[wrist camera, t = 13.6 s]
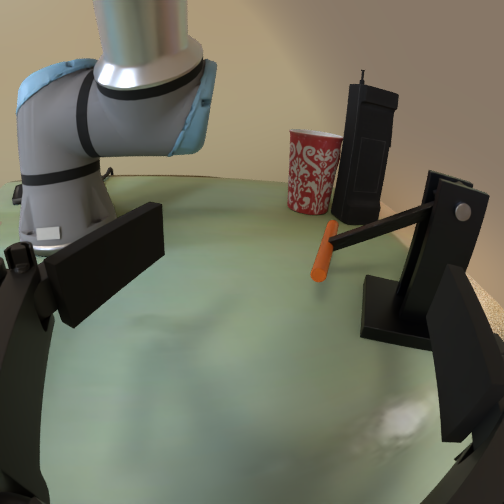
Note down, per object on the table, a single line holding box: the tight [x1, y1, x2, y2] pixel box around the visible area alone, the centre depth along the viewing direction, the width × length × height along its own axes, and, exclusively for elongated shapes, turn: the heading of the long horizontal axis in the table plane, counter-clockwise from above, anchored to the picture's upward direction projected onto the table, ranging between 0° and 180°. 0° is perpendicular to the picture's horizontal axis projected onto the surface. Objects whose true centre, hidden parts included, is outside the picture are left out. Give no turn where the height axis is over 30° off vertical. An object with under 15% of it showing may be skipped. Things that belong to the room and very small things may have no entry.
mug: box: [287, 129, 343, 215], centre depth 51 cm, size 13×9×14 cm
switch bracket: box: [360, 170, 489, 351], centre depth 23 cm, size 11×9×14 cm
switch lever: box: [310, 181, 465, 282], centre depth 24 cm, size 14×11×2 cm
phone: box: [12, 184, 23, 205], centre depth 55 cm, size 8×1×15 cm
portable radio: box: [331, 70, 399, 225], centre depth 45 cm, size 8×6×25 cm
